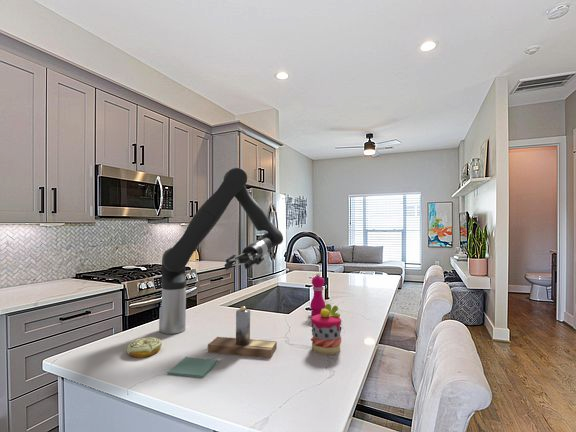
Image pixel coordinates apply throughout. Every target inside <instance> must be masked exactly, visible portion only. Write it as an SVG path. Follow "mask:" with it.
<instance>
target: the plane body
mask: <svg viewBox="0 0 576 432" xmlns="http://www.w3.org/2000/svg"><path fill="white" fill-rule="evenodd" d="M277 344H278V343H277V341H276V340H263V339H252V338H250V344H248V345H244V346H240V345H237V344H236V337H227V336H226V337H225V336H216V337H215V338H214V339H213V340H211V341H210V342H209V343H208V344H207V353H213V354H223V355H224V354H226V355H235V356H236V355H237V356H247V357H258V358H270V359H271V358H273V355H274V353H275V352H276V351H277V347H278V346H277Z"/></svg>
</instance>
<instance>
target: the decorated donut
mask: <svg viewBox="0 0 576 432" xmlns="http://www.w3.org/2000/svg"><path fill="white" fill-rule="evenodd" d="M161 347H162V340H161V339H160V338H157V337H151V336H150V337H140V338H136V339H134V340H132V341H130V342H129V344H128V345H127V348H126V352H127V354H129V355H130V356H132V357H134V358H139V359H141V358H147V357H150V356H152V355H155V354H156V353H158V352H159V351H160V350H161Z"/></svg>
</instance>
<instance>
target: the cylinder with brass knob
mask: <svg viewBox="0 0 576 432" xmlns="http://www.w3.org/2000/svg"><path fill="white" fill-rule="evenodd" d="M235 338H236V344H237V345H240V346H244V345H248V344H250V339H251V310H250V309H247V307H246V306H244V305H242V306H241V307H240V308H239V309H237V310H235Z"/></svg>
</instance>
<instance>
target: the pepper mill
mask: <svg viewBox="0 0 576 432" xmlns="http://www.w3.org/2000/svg"><path fill="white" fill-rule="evenodd" d="M311 284H312V290H313V297H312V299H311V302H310V305H309V306H310V309H311V312H310V313H311V314H310V315H311V317H313V316H315V315H318V314H321V309H322V308H324V309H325V306H326V303H325V300H324V296H323V291H324V284H325V279H324V278H323V277H322V276H321V274H320V273H318V272H317V273H316V276H314V277H313V278H312V279H311Z"/></svg>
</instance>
